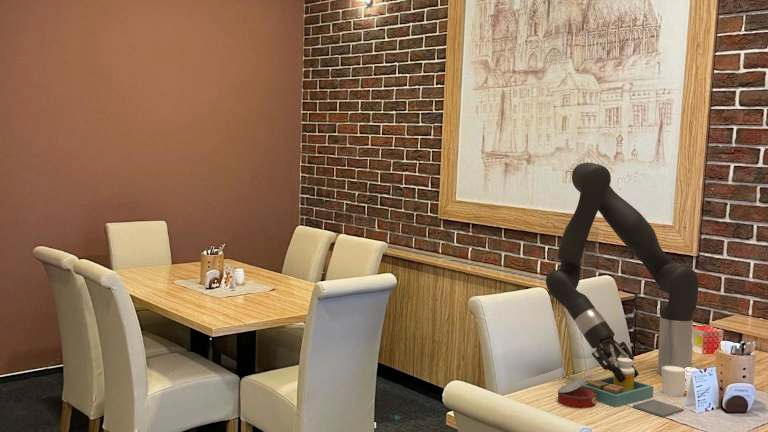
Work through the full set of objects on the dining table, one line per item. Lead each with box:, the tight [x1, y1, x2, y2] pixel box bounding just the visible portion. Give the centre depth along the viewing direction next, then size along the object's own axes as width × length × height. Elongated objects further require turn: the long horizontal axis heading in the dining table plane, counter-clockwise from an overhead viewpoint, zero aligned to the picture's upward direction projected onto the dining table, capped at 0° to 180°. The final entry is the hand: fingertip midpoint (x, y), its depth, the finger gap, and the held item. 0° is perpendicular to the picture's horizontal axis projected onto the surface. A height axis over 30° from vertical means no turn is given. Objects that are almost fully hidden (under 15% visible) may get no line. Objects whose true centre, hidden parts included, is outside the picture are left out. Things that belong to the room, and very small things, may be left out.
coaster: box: [631, 399, 685, 418], centre depth 194 cm, size 9×9×1 cm
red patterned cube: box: [692, 325, 724, 355], centre depth 256 cm, size 8×8×8 cm
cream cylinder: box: [661, 366, 686, 397], centre depth 208 cm, size 7×7×7 cm
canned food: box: [557, 373, 597, 409], centre depth 198 cm, size 11×10×10 cm
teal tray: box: [580, 375, 654, 408], centre depth 204 cm, size 16×12×3 cm
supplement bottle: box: [613, 358, 635, 392], centre depth 206 cm, size 5×5×10 cm
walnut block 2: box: [603, 384, 624, 395], centre depth 200 cm, size 4×4×4 cm
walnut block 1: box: [586, 379, 609, 390], centre depth 203 cm, size 4×4×4 cm
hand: (629, 378), depth 205 cm, fingers open, 5 cm apart
